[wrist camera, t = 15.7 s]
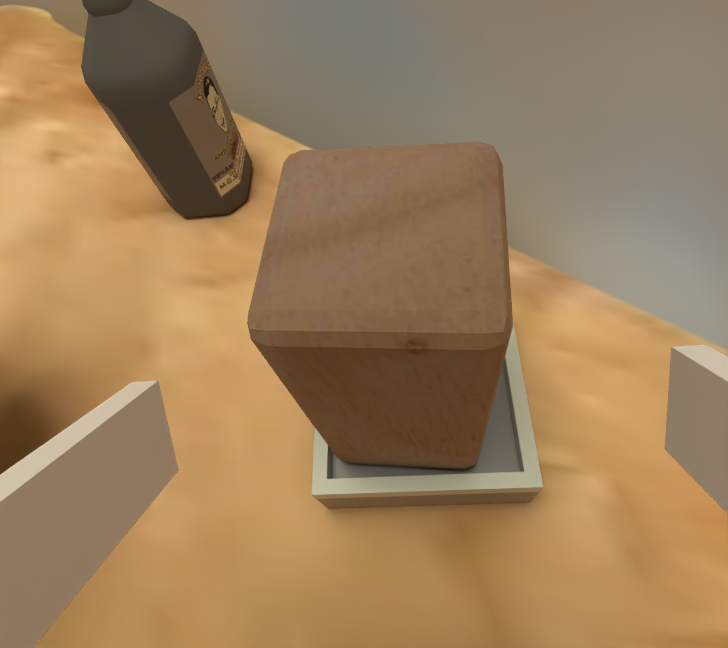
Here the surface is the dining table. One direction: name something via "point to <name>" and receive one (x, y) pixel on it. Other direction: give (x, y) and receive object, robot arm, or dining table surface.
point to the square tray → (446, 486)
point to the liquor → (166, 104)
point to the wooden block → (389, 298)
